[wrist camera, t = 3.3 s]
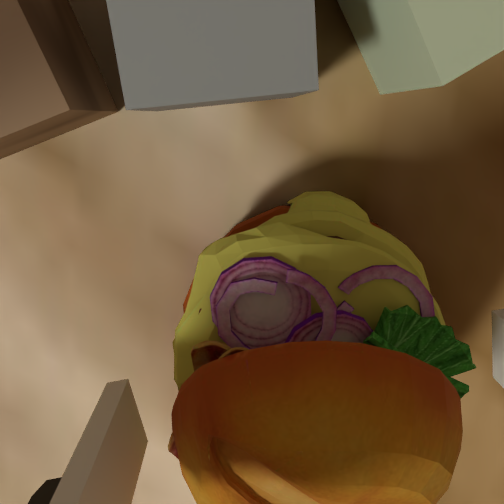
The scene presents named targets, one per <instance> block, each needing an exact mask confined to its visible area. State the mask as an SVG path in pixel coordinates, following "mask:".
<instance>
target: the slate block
mask: <svg viewBox="0 0 504 504" xmlns="http://www.w3.org/2000/svg"><path fill="white" fill-rule="evenodd" d="M106 2H107V8H108V14H109V19H110V25H111V30H112V36H113V41H114V47H115V52H116V58H117V63H118V69H119V75H120V80H121V86H122V91H123V97H124V102H125V108H126V110H140V111H164V110H174V109H184V108H193V107H203V106H213V105H223V104H232V103H242V102H252V101H261V100H271V99H281V98H291V97H296V96H299V95H303V94H306V93H310V92H313V91H317V90H319V86H318V64H317V43H316V22H315V0H106Z"/></svg>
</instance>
